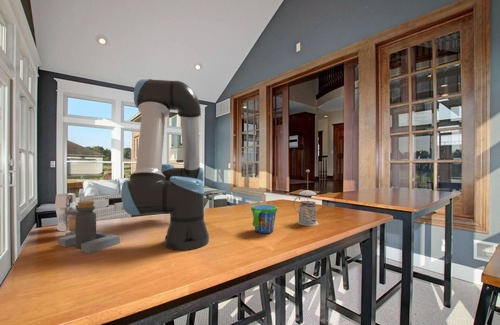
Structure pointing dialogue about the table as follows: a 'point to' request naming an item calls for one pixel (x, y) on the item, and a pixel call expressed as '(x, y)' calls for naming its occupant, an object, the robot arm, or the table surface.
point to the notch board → (91, 242)
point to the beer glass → (64, 209)
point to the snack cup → (264, 218)
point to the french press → (307, 208)
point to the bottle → (85, 223)
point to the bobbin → (71, 220)
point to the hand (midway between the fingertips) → (102, 206)
